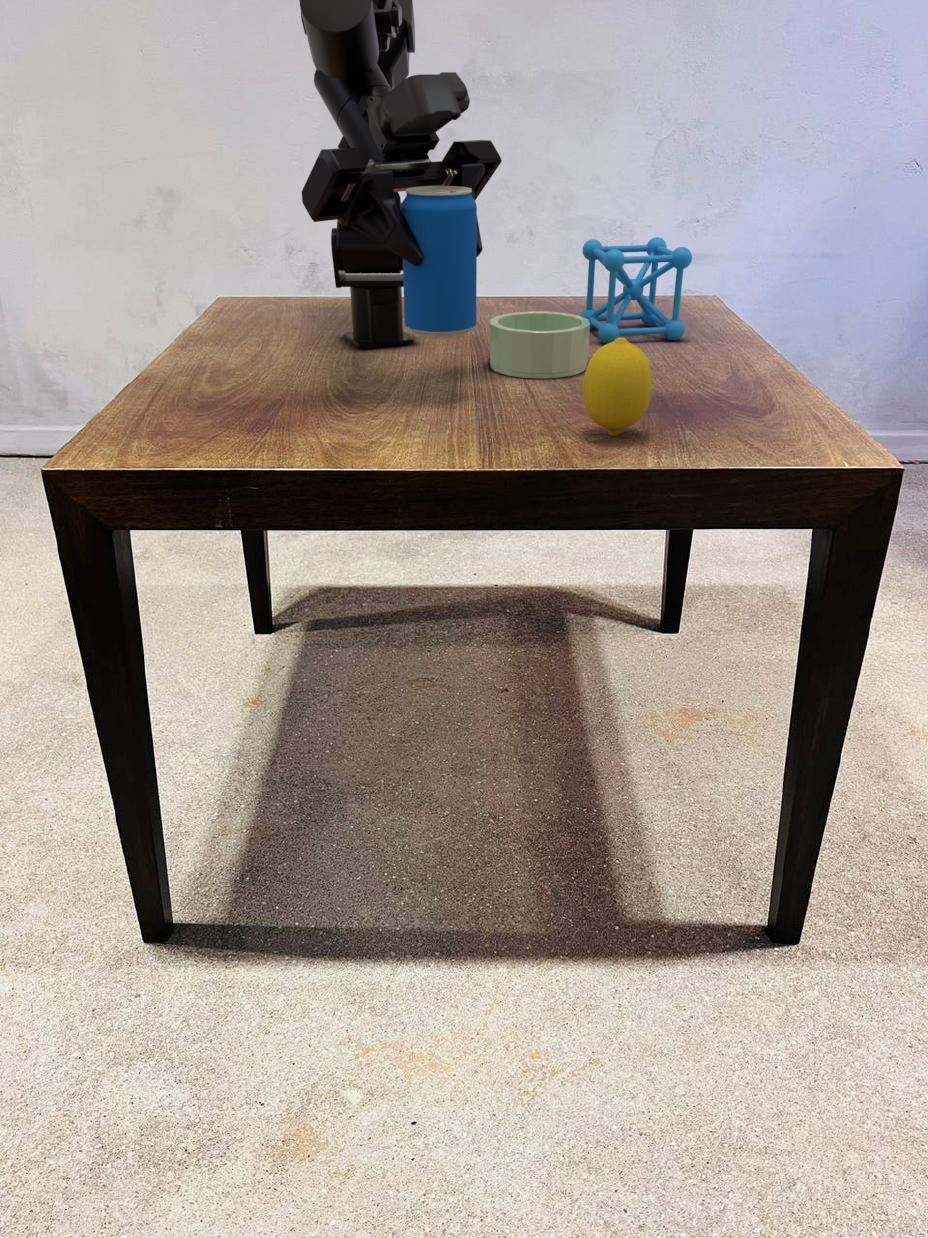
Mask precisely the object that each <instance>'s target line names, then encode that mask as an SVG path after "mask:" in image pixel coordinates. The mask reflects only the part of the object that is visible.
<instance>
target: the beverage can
mask: <svg viewBox="0 0 928 1238" xmlns="http://www.w3.org/2000/svg"><path fill="white" fill-rule="evenodd" d="M471 192H472V189H471V188H467V187H458V186H422V187H412V188H407V189H406V191H405V193H406V196H405V198H403V201H401V203H402V205H401V212H402V214H403V215H404V217H405V219H406V221H407V223H408V225H409V227H410V229H411V231H412V233H413V234H414V236H415V238H416V240H417V242H418V245H419V247H420V249H421V252H422V254H423V257H424V259H423V261H422V263H421V264H420V266H414V265H412V264H411V263H409V262H408V261H406V260H405V259H403V271H402V274H403V286H404V287H403V308H404V309H403V311H404V313H403V314H404V315H403V319H404V326H405V328H406V329H408V330H410V331H411V332H412V334H413V336H415V337H417V338H422V339H427V340H453V339H459V338H462V337H465V336H467V335H468V334H469V332H470V331H471V330H472V329H474V328H475V327H476V326H477V273H478V272H477V271H478V270H477V265H478V263H477V261H478V259H477V258H478V257H477V219H478V207H477V203H476V200H475V201H474V199H473V197H472V196H471Z"/></svg>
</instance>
